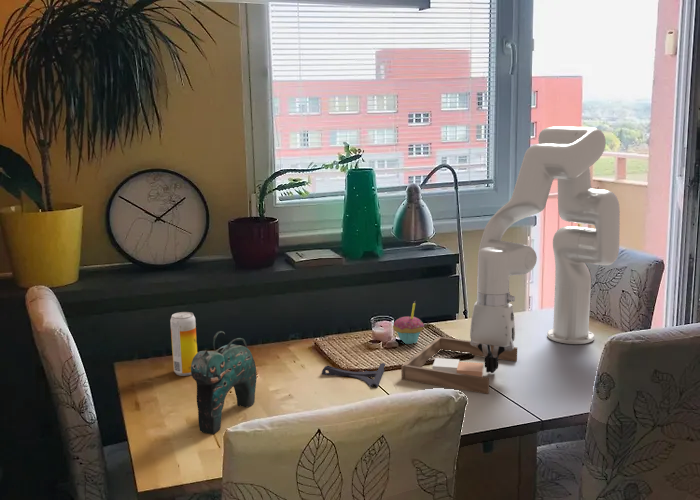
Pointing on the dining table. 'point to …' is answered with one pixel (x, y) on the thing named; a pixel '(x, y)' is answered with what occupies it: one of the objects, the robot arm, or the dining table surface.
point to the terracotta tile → (471, 368)
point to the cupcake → (408, 328)
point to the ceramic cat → (222, 381)
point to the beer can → (183, 342)
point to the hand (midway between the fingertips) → (491, 370)
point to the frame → (444, 378)
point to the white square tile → (446, 364)
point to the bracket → (358, 374)
